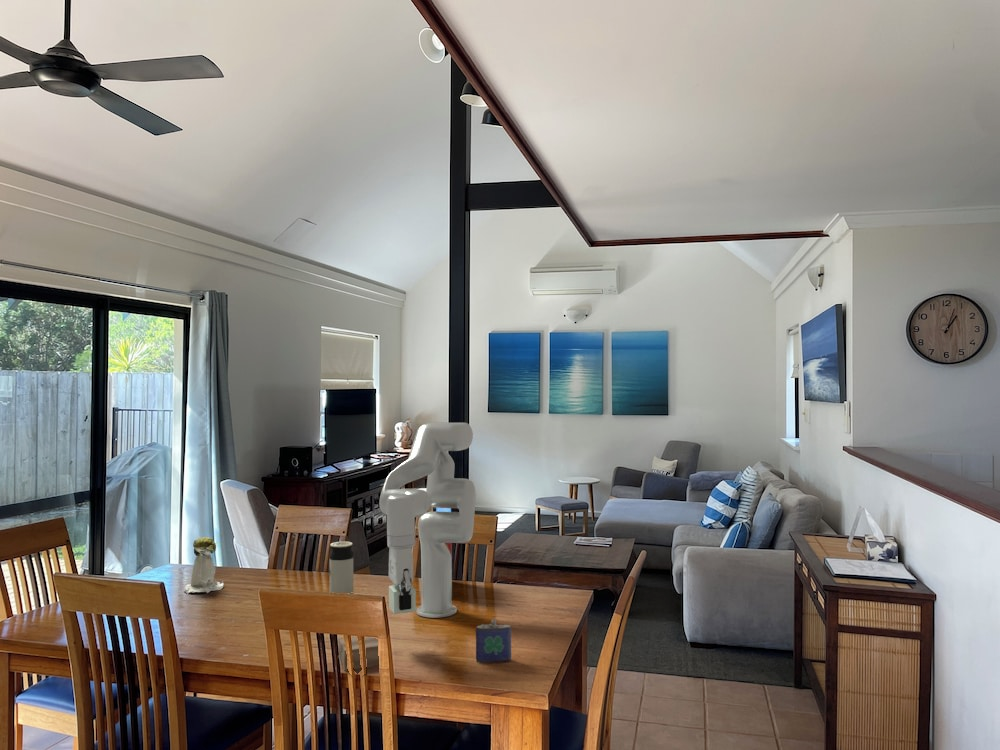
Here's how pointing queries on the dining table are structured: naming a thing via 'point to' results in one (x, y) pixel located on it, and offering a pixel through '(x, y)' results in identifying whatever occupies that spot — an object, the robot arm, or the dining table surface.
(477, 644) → the flask
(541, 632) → the dining table surface
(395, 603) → the sage block
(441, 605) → the robot arm
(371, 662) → the walnut block
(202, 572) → the white figurine
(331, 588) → the travel mug
